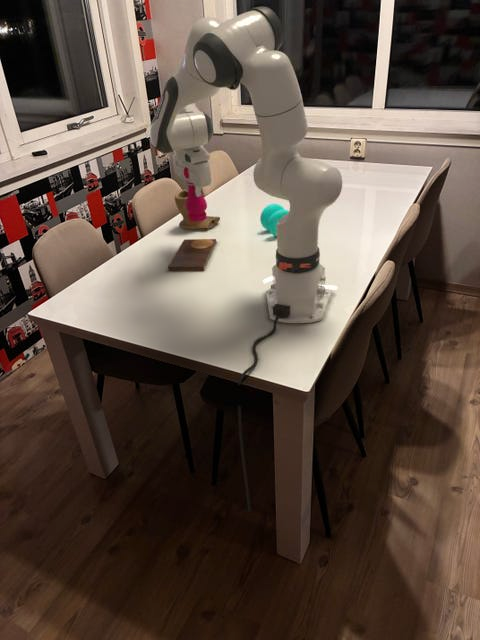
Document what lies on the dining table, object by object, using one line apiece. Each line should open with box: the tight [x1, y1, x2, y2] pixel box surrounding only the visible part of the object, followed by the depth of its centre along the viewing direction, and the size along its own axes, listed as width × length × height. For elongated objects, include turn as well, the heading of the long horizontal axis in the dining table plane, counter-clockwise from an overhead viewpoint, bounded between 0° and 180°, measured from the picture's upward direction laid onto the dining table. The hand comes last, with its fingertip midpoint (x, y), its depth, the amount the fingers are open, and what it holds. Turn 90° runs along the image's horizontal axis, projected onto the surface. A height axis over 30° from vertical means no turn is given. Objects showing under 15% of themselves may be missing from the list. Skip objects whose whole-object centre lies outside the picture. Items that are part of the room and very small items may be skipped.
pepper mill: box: [184, 167, 208, 222], centre depth 163 cm, size 7×7×20 cm
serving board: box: [167, 238, 218, 272], centre depth 169 cm, size 22×12×2 cm, turn 171°
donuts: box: [259, 203, 289, 237], centre depth 178 cm, size 10×10×10 cm
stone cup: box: [174, 188, 221, 229], centre depth 188 cm, size 15×12×15 cm
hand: (194, 194), depth 164 cm, fingers closed on pepper mill, 4 cm apart
